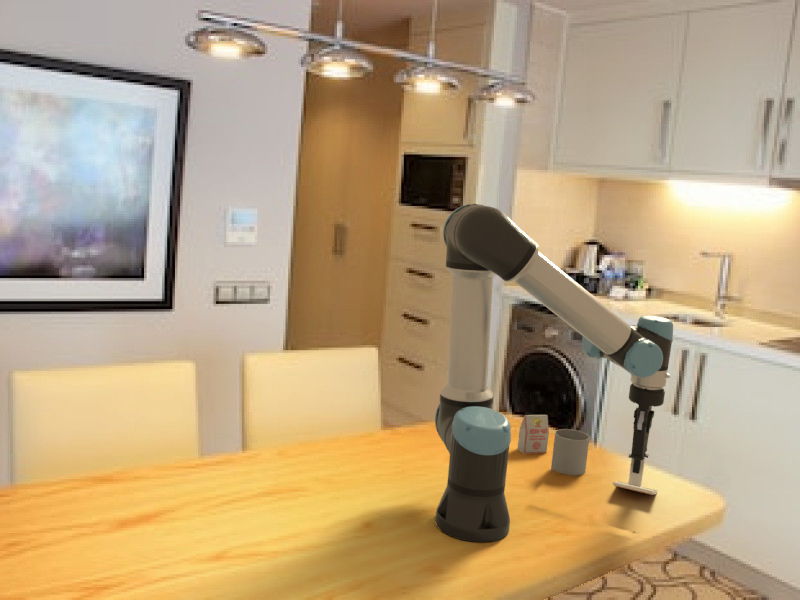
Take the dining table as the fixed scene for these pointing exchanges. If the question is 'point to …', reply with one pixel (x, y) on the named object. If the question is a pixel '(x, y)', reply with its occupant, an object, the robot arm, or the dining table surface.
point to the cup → (570, 452)
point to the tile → (635, 488)
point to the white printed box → (533, 434)
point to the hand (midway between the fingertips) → (634, 484)
